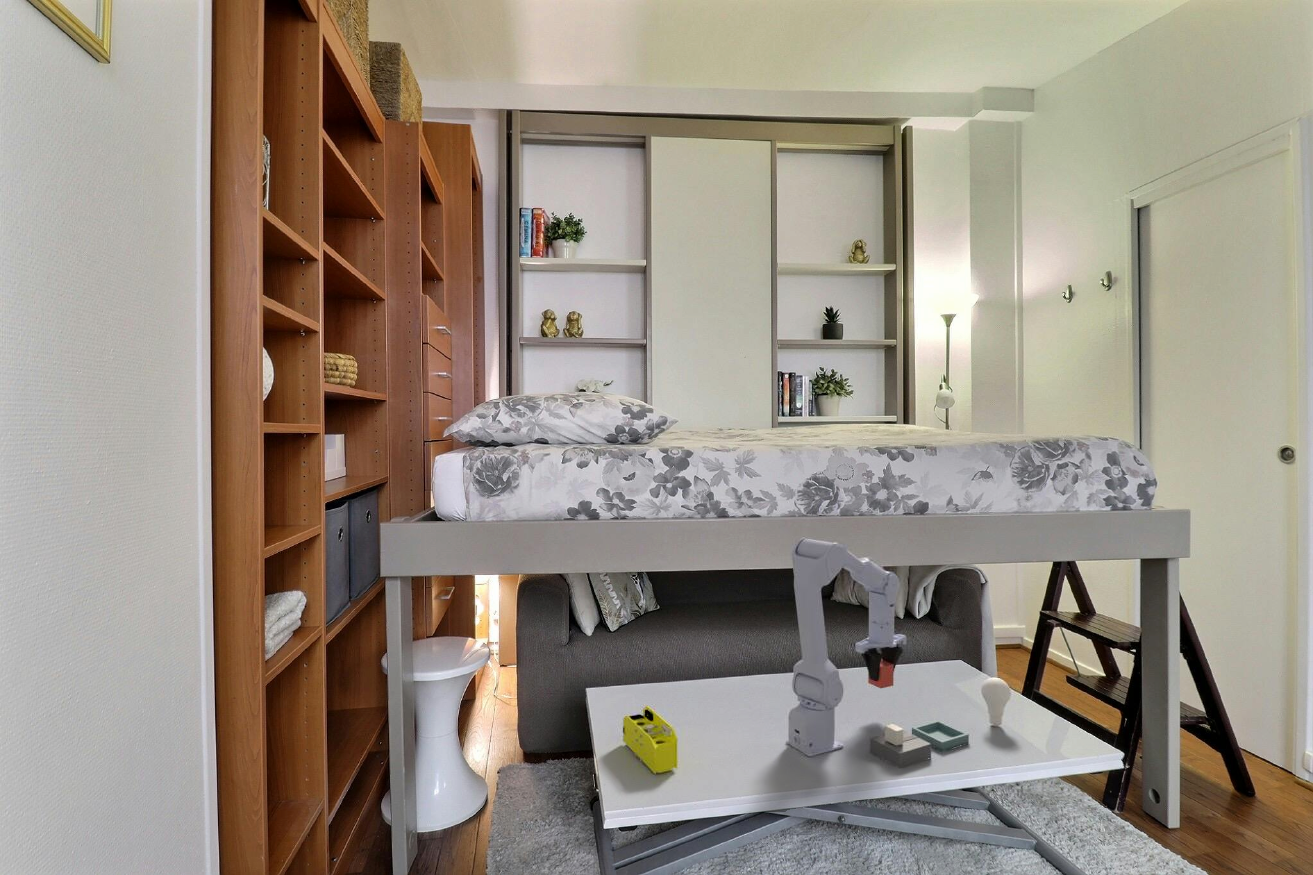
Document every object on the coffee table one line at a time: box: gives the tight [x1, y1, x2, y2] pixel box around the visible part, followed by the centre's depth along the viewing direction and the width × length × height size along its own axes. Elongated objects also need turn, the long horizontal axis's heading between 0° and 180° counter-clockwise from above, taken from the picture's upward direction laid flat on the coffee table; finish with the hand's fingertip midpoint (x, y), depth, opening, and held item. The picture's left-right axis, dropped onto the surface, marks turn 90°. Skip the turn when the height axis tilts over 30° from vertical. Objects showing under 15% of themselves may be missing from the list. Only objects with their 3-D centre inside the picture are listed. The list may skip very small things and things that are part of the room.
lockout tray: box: [911, 720, 970, 752], centre depth 158 cm, size 8×8×2 cm
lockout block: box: [867, 659, 895, 689], centre depth 171 cm, size 4×4×5 cm
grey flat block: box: [869, 729, 932, 769], centre depth 151 cm, size 9×8×3 cm
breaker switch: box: [884, 723, 904, 746], centre depth 150 cm, size 2×3×3 cm, turn 28°
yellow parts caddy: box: [622, 705, 678, 775], centre depth 150 cm, size 16×6×8 cm, turn 26°
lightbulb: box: [980, 676, 1012, 727], centre depth 165 cm, size 6×6×11 cm
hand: (881, 678), depth 170 cm, fingers closed on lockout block, 4 cm apart
